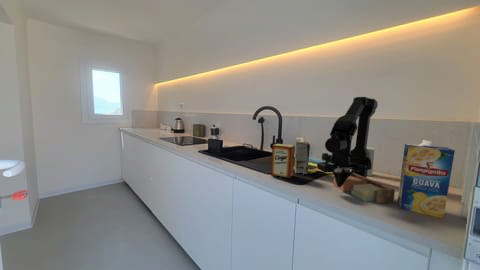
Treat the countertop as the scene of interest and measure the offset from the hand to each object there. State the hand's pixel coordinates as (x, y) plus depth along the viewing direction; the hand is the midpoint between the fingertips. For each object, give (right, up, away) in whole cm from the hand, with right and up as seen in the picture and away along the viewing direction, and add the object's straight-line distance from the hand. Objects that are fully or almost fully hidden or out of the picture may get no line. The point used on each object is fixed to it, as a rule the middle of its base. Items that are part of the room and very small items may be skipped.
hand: (338, 186), depth 81 cm
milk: (+38, -3, +5) cm, 39 cm away
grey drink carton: (-8, +1, +25) cm, 26 cm away
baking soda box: (-20, +1, +18) cm, 27 cm away
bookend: (+6, -1, +10) cm, 11 cm away
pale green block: (+8, -3, -5) cm, 10 cm away
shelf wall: (+10, -2, 0) cm, 10 cm away
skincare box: (+26, 0, +25) cm, 37 cm away
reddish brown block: (+5, -2, +4) cm, 7 cm away
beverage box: (+20, -4, -14) cm, 25 cm away
